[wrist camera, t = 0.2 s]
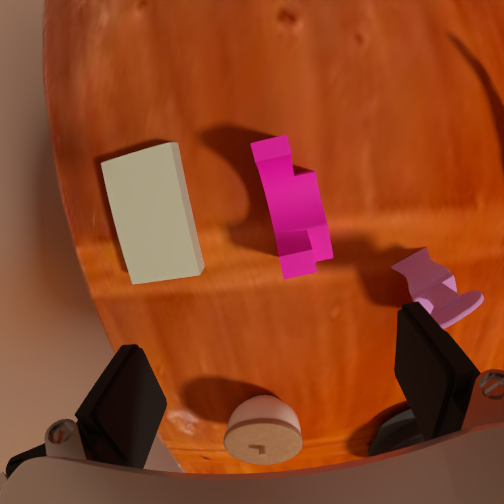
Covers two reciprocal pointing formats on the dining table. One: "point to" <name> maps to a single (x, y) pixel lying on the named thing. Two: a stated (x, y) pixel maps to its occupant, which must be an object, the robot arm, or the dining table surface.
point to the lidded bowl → (263, 431)
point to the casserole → (397, 434)
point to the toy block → (292, 208)
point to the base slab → (153, 214)
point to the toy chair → (436, 289)
